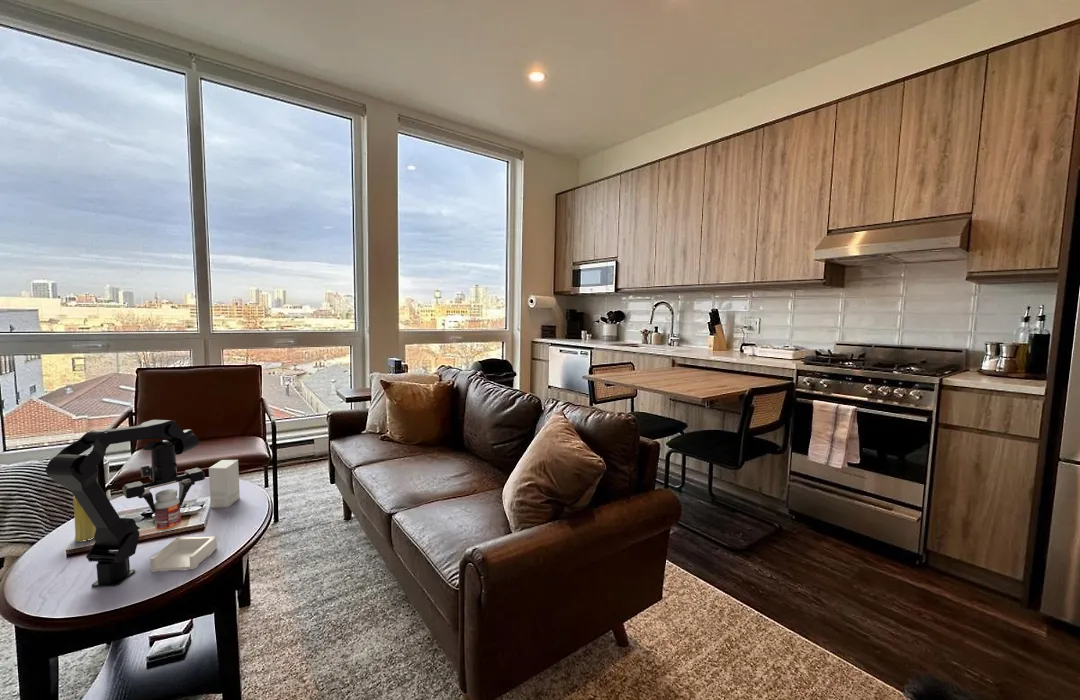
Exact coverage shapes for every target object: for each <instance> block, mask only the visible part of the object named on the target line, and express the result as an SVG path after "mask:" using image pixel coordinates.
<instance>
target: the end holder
mask: <svg viewBox="0 0 1080 700" xmlns="http://www.w3.org/2000/svg"><path fill="white" fill-rule="evenodd" d="M217 545H218V542H217V536H215V535H212V536H195V537H194V536H193V537H189V536H188V537H176V538H175V539H173V540H172V541H171V542H170V543H168V545H166V546H165V547H163V548H162V549H161V550H160V551H158V552H157V553H156V554H154V555H152V557H150V559H149V560H150V572H151V573H152V572H153V573H158V572H157V571H161V572H169V571H168V570H180V571H187V570H186V569H194V568H195V567H196V566H197V565H198V564H199V563H200V562H202V561H203V560H204V559H205V558H206V557H207V556H208V555H209V554H210V553H211V552H212V551H214V550H215V549H216V548H218V546H217ZM216 550H217V549H216ZM216 550H215V551H216ZM215 551H214V552H215ZM211 554H212V553H211ZM211 554H210V555H211ZM210 555H209V556H210ZM209 556H208V557H209ZM208 557H207V558H208ZM207 558H206V559H207ZM206 559H205V560H206ZM205 560H204V561H205ZM204 561H203V562H204ZM203 562H202V563H203ZM196 568H197V567H196ZM196 568H195V569H196ZM184 569H185V570H184ZM195 569H194V570H195Z"/></svg>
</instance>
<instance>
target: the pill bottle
mask: <svg viewBox="0 0 1080 700" xmlns="http://www.w3.org/2000/svg"><path fill="white" fill-rule="evenodd" d="M154 498H155V499H154V500H155V502H154V506H155V513H153V514H154V524H155V525H154V526H155V531H157V532H167V531H172V530H174V529H177V528H179V527H180V526H181V525H182V515H181V514H182V513H181V505H180V500H179V497H178V490H177V489H175V488H168V489H163V490H160V491H158V492H156V493H155V497H154Z"/></svg>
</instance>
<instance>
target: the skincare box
mask: <svg viewBox="0 0 1080 700" xmlns="http://www.w3.org/2000/svg"><path fill="white" fill-rule="evenodd" d="M239 472H240V471H239V459H220V460H219V461H218V462H216V463H215V464H213V465H211V466H210V467H208V479H209V480H208V481H209V498H210V503H209V504H210V509H215V508H216V509H217V508H219V509H220V508H229V507H230V506H232V505H233V504H234V503H235V502H236V501H238V500H239V499H240V497H241V495H240V494H241V491H240V475H239V474H240V473H239Z"/></svg>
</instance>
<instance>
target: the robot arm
mask: <svg viewBox="0 0 1080 700" xmlns="http://www.w3.org/2000/svg"><path fill="white" fill-rule="evenodd" d="M146 439H147V440H148V439H150V441H148V443H147V444H146V445H145V446H144V447H143V448H142V449H143V451H150V459H151V467H150V465H145V466H140V475H141V476H140V477H141V478H146V477H149V479H150V482H146V483H142V481H141V480H140V481H139V480H138V481H134V482H130V483H126V484H124V485H123V486H122V494H123V496H124V497H125V498H126V499H133V498H137V497H138V498H139V499H144V500H145V502H146V503H147V505H148V507H149V508H150V510H151V512H152V513H153V514H154V513H155V506H154V504H155V502H154V496H153V493H152V492H151V489H155V488H160V487H162V486H166V485H171V484H175V483H178V487H179V489H178V498H179V500H180V506H183V503H184V501H185V499H186V496H187V494H188V492H189V490H190V489H191V487H192V486H194V485H195V484H196V482H200V481H204V480H206V474H205V471H204V470H202V469H201V468H199V467H195V468H191V469H185V471H184V474H180V475H179V474H178V471H177V470H178V469H177V467H178V466H177V465H178V463H177V456H179V455H182V454H184V453H187V452H189V451H193V450H194V449H196V448H198V446H199V444H200V439H199V438H198V436H197V434H195V433H193V429H181V428H180V426H179V425H178V423H177V421H176V420H171V419H170V420H169V419H151V420H148V421H144V422H142V423H140V424H138V425H133V426H125V427H118V428H117V427H116V428H109V429H103V430H94V429H93V430H89V431H87V432H86V433H84V434H83V436H81V437H80V438H79V439H78V440H75V441H74V442H73V443H70V444H69V445H67V446H65V447H64V448H62V449H61V450H60V451H59V452H58V453H57V454H56V455H55V456H54V457H52V458H51V459H50V460H49V462H48V463H47V466H46V467H45V473H46V475H47V476H48V477H49V478H51V479H52V480H53V481H54V482H55V483H56V484H58V485H60V486H62V487H64V488H66V489H68V490H70V492H71V493H72V495H73V497H74V496H75V498H76V499H77V501H78V502H79V504H80V505H81V507H82V508H83V510H84V511H85V513H86V514H87V515H88V517H89V518H90V520H91V521H92V523H93V524H94V526H95V527H96V531H95V534H94V539H93V540H94V544H93V545H92V547H91V548H90V549H89V551H88V552H87V554H86V556H85V557H86V559H87V561H88V562H94V563H95V562H97V563H96V577H97V580H96V581H94V582H93V583H91V587H92V588H93V587H110V586H119V585H120V584H121V583H123V582H124V581H125V580H126V579H128V578H130V576H132V575H133V574H134V573H135V572H137V571H136V569H130V568H131V565H130V557H132V556H134V555H135V554H136V552H137V547H138V543H139V540H140V535H141V534H140V531H139V530H140V529H141V527H140V526H138V525H137V524H136V520H135V519H134V518H132V517H131V518H129V517H120V515H119V514H118V513H117V511H116V509H115V507H114V506H113V504H112V503H111V501H110V499H109V497H108V496H107V495H106V493H105V492H104V490H103V488H102V487H101V485H100V484H99V482H98V479H97V478H98V474H99V468H98V465H99V464H100V463H102V461H103V460H104V458H105V456H106V452H107V449H108V447H109V446H110V445H115V444H120V443H127V442H135V441H140V440H146ZM155 440H159V441H155ZM92 447H93V448H92ZM90 448H91V449H92V450H91V451H90V452H89V453H88V454H82V453H85V452H86V451H88V450H89V449H90Z"/></svg>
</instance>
